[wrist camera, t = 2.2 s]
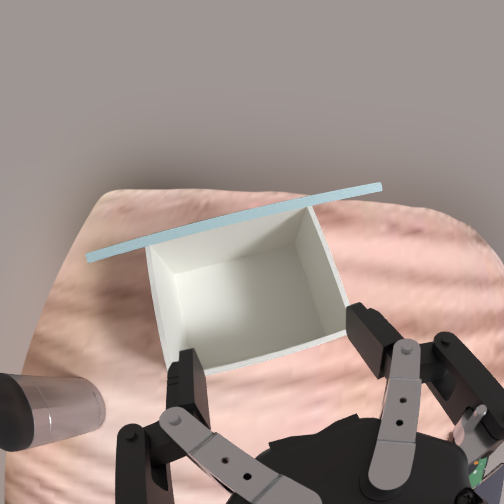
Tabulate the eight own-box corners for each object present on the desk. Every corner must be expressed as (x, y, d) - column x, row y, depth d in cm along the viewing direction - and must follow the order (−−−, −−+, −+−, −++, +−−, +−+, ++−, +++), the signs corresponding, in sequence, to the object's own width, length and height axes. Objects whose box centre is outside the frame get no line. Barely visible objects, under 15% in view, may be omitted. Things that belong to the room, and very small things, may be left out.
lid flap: (87, 263, 16) (85, 253, 16) (145, 241, 31) (144, 236, 31) (382, 190, 18) (380, 181, 17) (308, 201, 33) (307, 196, 33)
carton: (193, 377, 37) (170, 382, 26) (171, 273, 42) (144, 241, 31) (329, 340, 39) (358, 330, 27) (296, 241, 44) (309, 200, 33)
